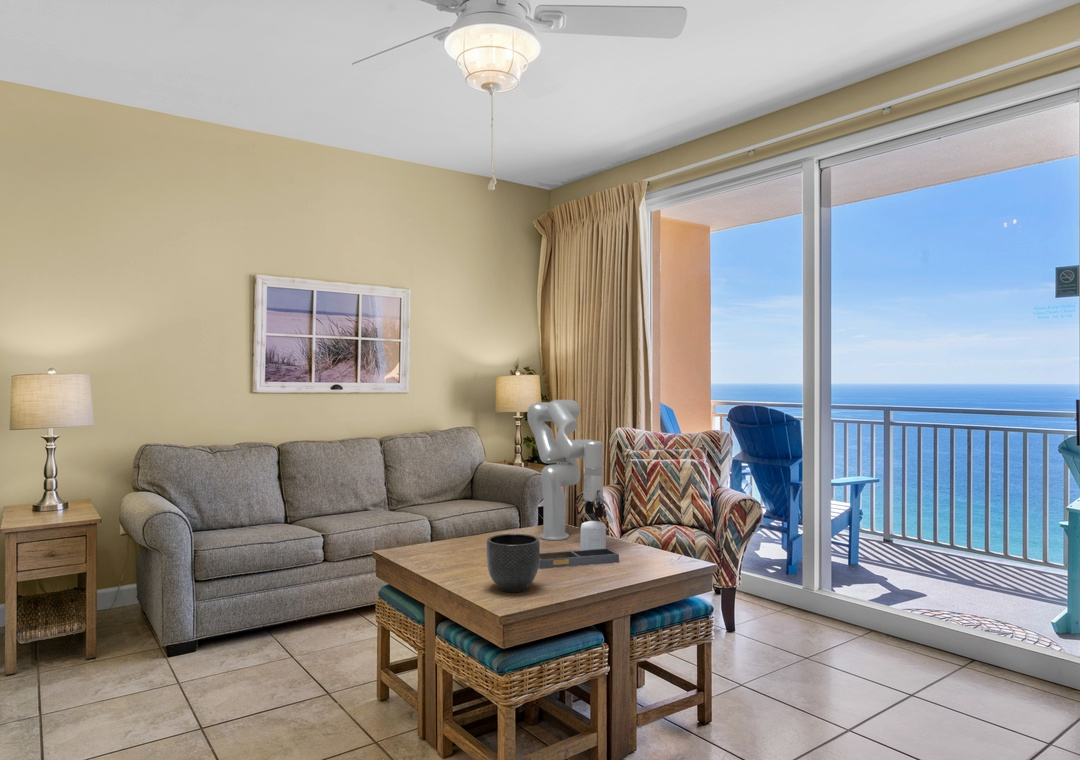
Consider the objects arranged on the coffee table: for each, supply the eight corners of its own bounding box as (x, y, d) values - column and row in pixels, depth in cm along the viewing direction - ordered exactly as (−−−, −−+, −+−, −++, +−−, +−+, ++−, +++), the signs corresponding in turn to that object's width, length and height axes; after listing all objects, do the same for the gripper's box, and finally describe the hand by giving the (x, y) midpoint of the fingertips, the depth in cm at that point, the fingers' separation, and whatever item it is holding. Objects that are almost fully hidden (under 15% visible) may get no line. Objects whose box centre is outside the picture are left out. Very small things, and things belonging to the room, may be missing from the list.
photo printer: (604, 550, 270) (604, 519, 270) (607, 553, 266) (607, 521, 266) (579, 551, 268) (579, 520, 269) (581, 554, 264) (581, 522, 264)
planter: (515, 578, 231) (515, 531, 231) (550, 589, 218) (550, 539, 219) (475, 588, 219) (475, 538, 219) (510, 600, 207) (510, 548, 207)
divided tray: (531, 562, 252) (531, 553, 252) (608, 555, 261) (608, 548, 261) (540, 569, 242) (540, 560, 242) (619, 562, 252) (619, 554, 252)
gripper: (576, 470, 274) (577, 512, 274) (592, 474, 258) (593, 519, 257) (594, 469, 277) (594, 511, 276) (611, 473, 260) (611, 518, 260)
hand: (594, 515), depth 267 cm, fingers open, 9 cm apart
